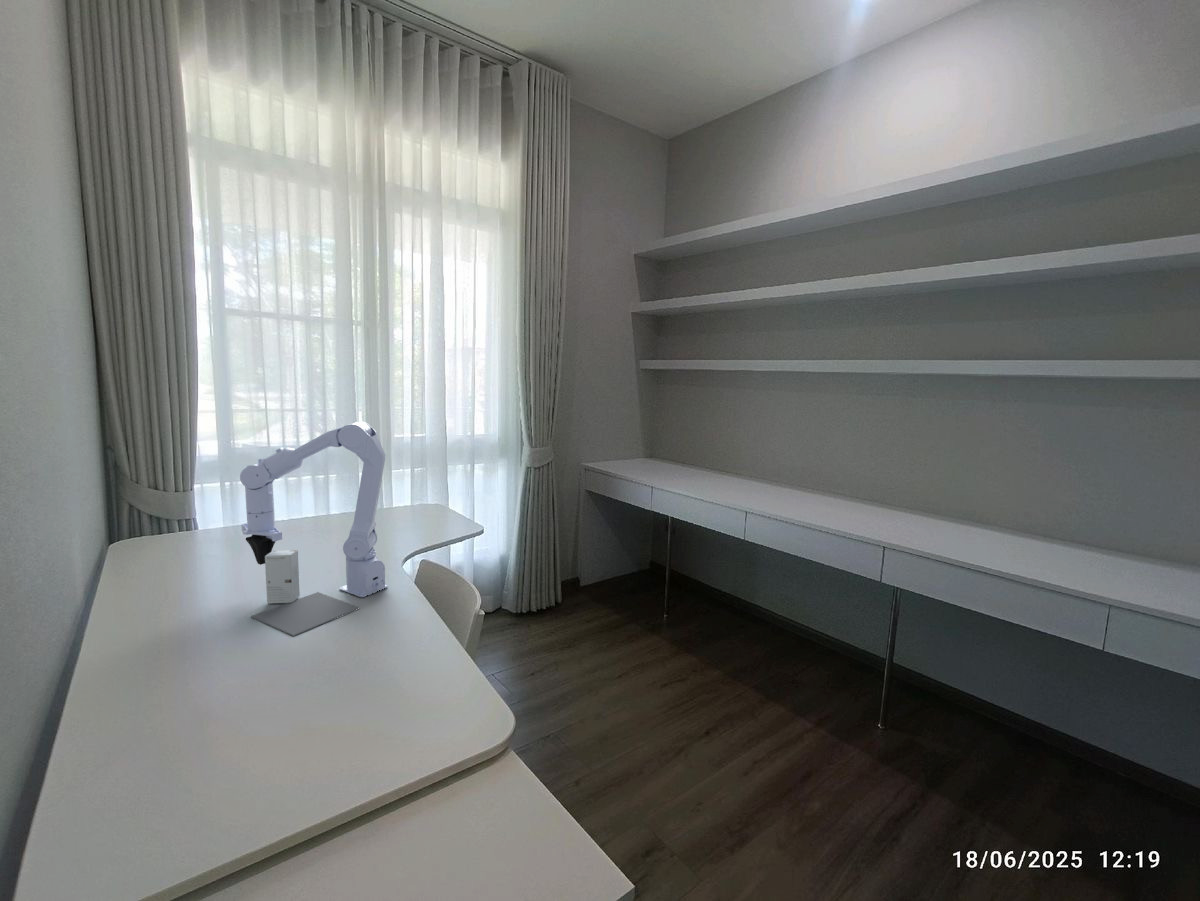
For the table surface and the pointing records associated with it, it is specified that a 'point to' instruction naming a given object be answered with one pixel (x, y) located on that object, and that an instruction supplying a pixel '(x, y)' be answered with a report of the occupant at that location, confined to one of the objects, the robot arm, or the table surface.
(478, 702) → the table surface
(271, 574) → the skincare box
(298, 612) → the mat
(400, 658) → the table surface
